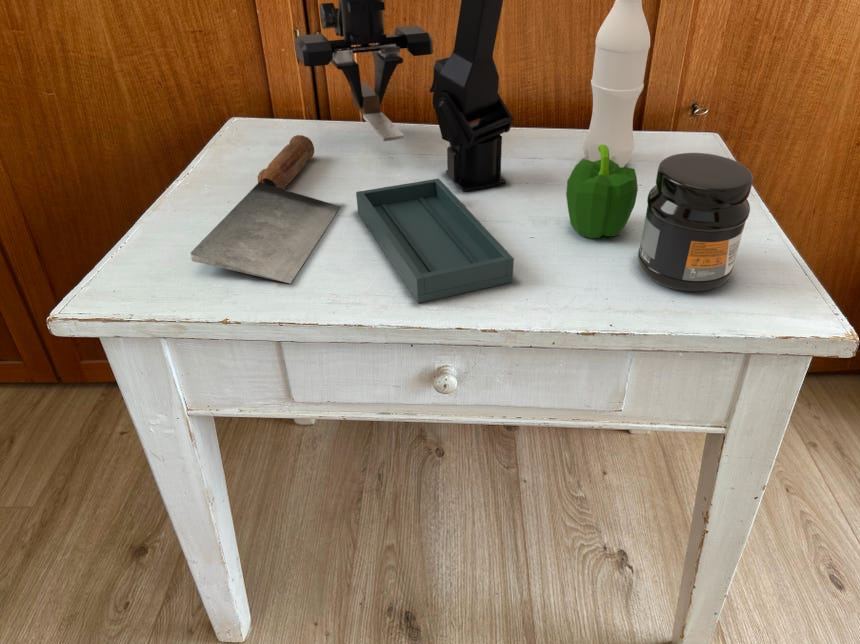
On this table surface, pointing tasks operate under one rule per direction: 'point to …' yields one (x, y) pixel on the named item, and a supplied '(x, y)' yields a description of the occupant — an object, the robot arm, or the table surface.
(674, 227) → the supplement container
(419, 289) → the tray
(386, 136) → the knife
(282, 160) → the meat cleaver
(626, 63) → the water bottle
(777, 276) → the table surface
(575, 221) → the bell pepper
